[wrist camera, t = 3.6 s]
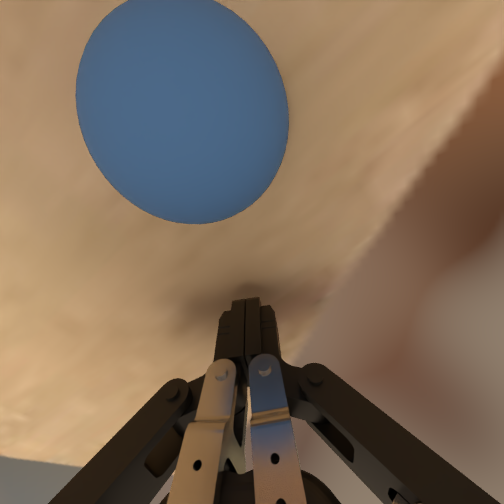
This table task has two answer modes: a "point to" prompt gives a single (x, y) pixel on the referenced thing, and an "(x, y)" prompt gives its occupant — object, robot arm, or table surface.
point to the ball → (182, 108)
